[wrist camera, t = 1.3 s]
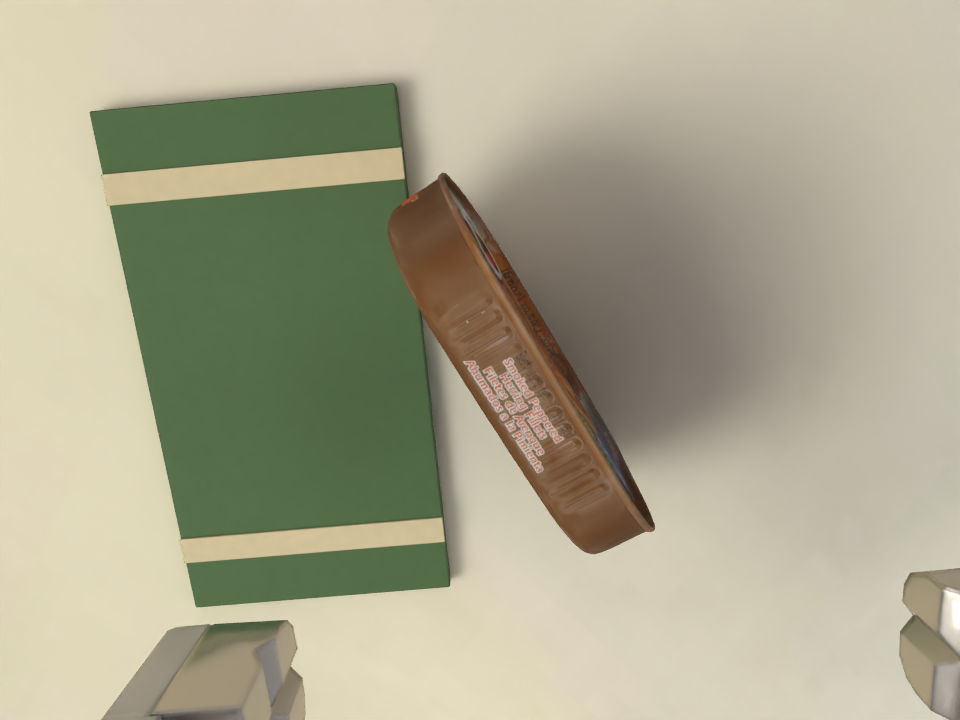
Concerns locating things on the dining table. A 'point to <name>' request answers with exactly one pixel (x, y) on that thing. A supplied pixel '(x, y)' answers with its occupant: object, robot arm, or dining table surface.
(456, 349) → the tin
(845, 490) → the dining table surface
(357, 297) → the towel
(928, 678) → the robot arm
